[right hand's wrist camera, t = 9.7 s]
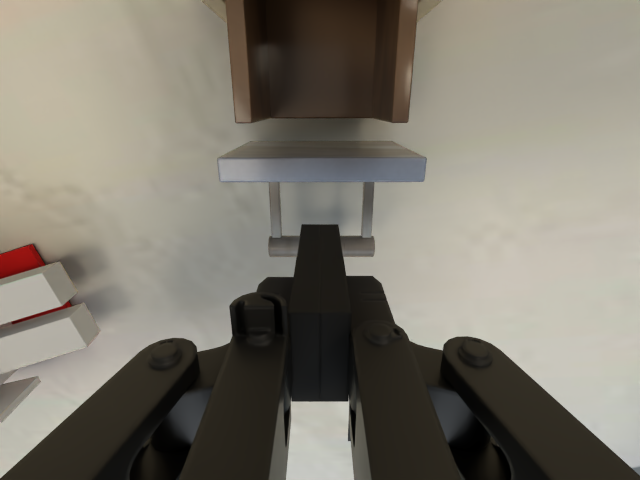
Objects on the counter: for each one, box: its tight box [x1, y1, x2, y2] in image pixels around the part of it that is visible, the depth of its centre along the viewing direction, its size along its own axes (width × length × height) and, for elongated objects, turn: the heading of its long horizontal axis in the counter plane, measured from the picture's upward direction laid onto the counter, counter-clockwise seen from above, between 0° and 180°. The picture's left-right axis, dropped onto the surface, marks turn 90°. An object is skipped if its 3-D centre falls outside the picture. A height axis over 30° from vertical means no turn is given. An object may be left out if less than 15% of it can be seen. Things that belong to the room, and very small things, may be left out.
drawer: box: [217, 0, 427, 257], centre depth 19 cm, size 25×10×8 cm, turn 0°
